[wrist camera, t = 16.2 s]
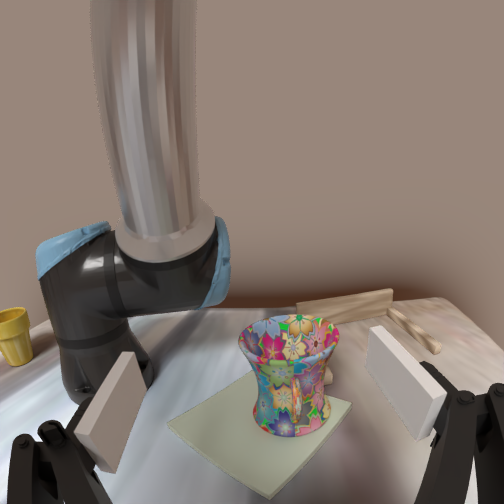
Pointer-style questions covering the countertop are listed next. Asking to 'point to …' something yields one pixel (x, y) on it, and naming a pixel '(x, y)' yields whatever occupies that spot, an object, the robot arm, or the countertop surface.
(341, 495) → the countertop surface
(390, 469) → the countertop surface
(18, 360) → the plant pot
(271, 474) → the board
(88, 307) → the robot arm
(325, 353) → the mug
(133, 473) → the countertop surface
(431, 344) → the mug holder
